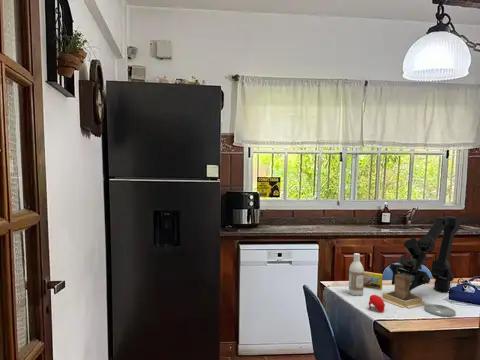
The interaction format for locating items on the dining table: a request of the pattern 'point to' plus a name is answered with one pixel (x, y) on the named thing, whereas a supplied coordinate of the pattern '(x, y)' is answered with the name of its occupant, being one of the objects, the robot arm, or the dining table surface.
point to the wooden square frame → (409, 304)
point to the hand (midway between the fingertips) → (400, 287)
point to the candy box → (373, 280)
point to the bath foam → (356, 276)
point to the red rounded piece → (376, 303)
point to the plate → (439, 310)
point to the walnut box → (402, 287)
